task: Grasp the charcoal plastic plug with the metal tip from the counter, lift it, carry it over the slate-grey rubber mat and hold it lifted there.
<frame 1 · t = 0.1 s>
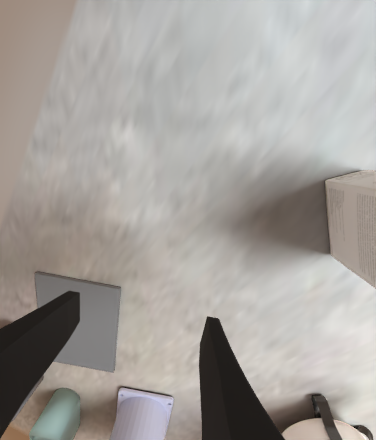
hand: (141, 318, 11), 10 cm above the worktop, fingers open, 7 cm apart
coffee press: (316, 420, 28), on the worktop
mat: (79, 324, 24), on the worktop
teal plug: (67, 409, 30), on the worktop
ink box: (342, 214, 18), on the worktop
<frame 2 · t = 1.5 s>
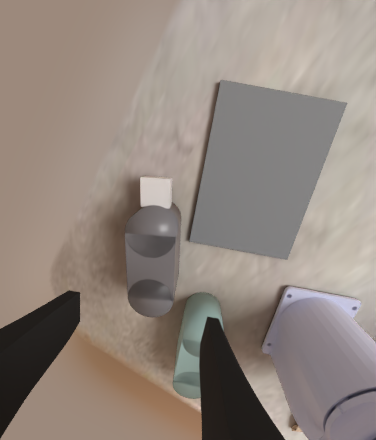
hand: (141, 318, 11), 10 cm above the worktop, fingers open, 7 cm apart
mat: (256, 180, 17), on the worktop
teal plug: (197, 326, 23), on the worktop
plug: (161, 245, 20), on the worktop
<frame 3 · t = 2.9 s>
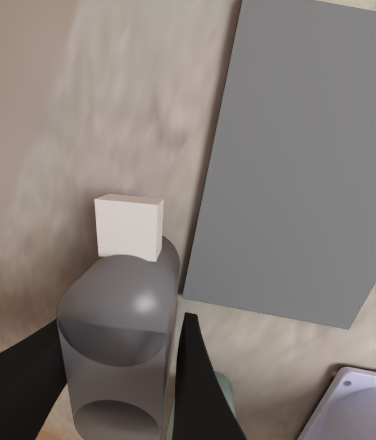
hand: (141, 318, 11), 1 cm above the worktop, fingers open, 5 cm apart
mat: (304, 197, 9), on the worktop
teal plug: (197, 413, 15), on the worktop
plug: (145, 303, 12), on the worktop, touching gripper
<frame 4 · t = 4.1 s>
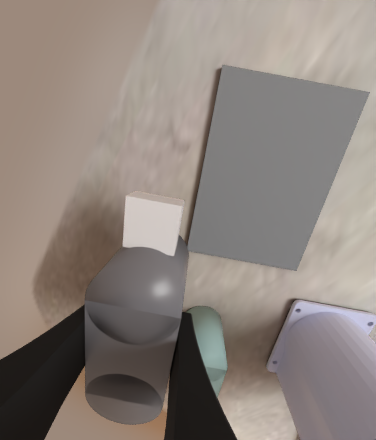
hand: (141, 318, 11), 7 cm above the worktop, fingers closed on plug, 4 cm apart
mat: (263, 182, 15), on the worktop
teal plug: (196, 342, 21), on the worktop
plug: (151, 293, 13), point 5 cm above the worktop, touching gripper
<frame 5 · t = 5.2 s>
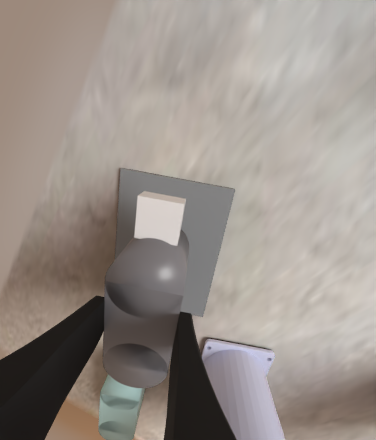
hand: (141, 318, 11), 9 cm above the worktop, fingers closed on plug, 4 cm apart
mat: (167, 249, 19), on the worktop
teal plug: (132, 370, 24), on the worktop
plug: (157, 280, 15), point 4 cm above the worktop, touching gripper
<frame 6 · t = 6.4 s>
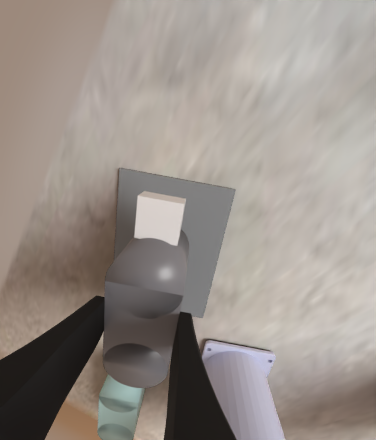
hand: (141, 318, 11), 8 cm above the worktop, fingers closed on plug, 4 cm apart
mat: (166, 250, 19), on the worktop
teal plug: (131, 372, 24), on the worktop
plug: (157, 279, 15), point 4 cm above the worktop, touching gripper
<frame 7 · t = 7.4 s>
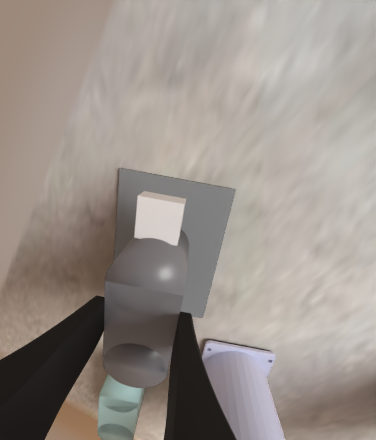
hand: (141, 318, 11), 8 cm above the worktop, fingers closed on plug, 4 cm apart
mat: (166, 250, 19), on the worktop
teal plug: (131, 372, 24), on the worktop
plug: (157, 279, 15), point 4 cm above the worktop, touching gripper
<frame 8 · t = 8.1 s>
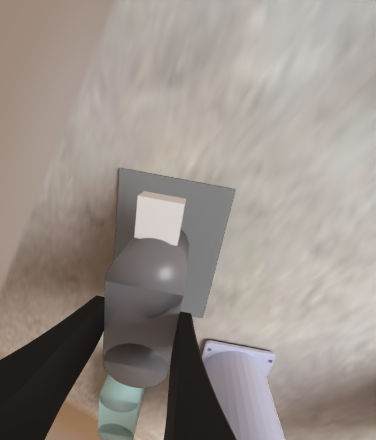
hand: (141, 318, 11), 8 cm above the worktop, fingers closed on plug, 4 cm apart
mat: (166, 250, 19), on the worktop
teal plug: (131, 372, 24), on the worktop
plug: (157, 279, 15), point 4 cm above the worktop, touching gripper
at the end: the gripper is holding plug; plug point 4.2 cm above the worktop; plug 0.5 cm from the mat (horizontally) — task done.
